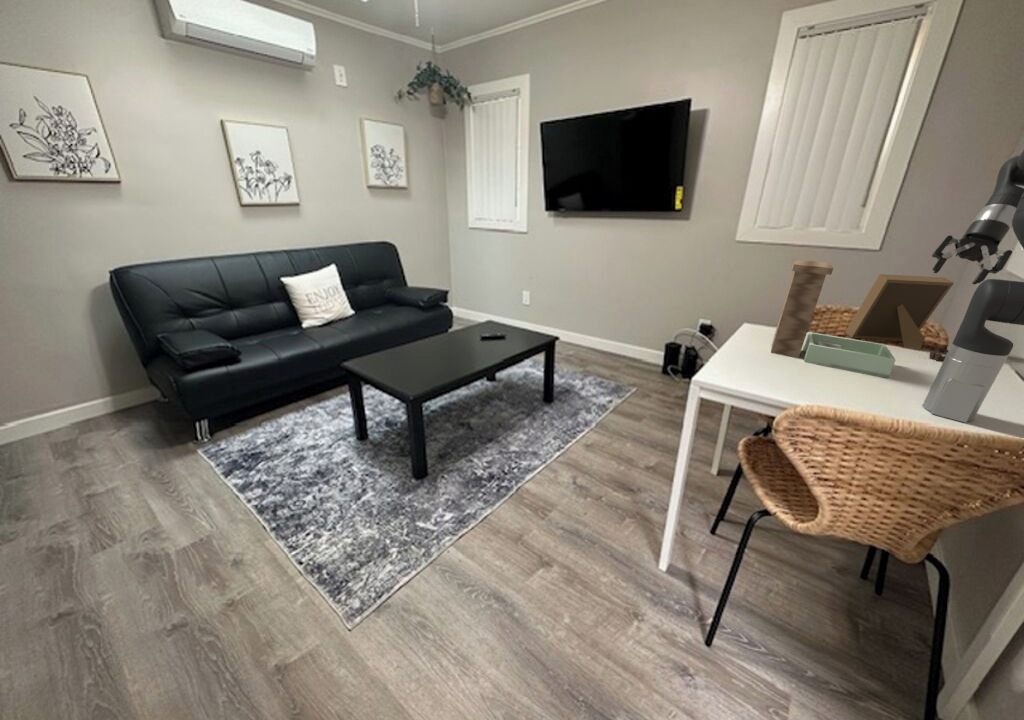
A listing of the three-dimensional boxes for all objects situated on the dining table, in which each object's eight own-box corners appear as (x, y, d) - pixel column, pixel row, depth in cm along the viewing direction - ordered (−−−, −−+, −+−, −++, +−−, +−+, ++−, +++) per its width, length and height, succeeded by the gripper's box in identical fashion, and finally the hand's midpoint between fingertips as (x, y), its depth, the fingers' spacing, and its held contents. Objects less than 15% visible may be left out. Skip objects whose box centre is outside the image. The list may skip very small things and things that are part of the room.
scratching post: (801, 348, 143) (829, 262, 131) (802, 360, 132) (833, 268, 120) (768, 342, 148) (793, 259, 136) (767, 353, 137) (793, 264, 125)
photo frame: (844, 334, 160) (868, 271, 150) (902, 337, 158) (931, 274, 148) (871, 347, 147) (899, 279, 137) (935, 352, 145) (968, 283, 135)
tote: (878, 361, 133) (885, 344, 131) (887, 378, 121) (895, 359, 118) (802, 347, 143) (808, 331, 141) (804, 361, 131) (810, 344, 129)
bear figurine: (912, 343, 144) (956, 341, 143) (908, 354, 146) (951, 352, 145) (961, 362, 128) (1011, 360, 126) (956, 374, 129) (1005, 373, 128)
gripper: (1017, 239, 111) (981, 291, 112) (951, 224, 118) (918, 273, 120) (1034, 227, 104) (995, 282, 106) (963, 211, 111) (928, 263, 113)
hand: (954, 277), depth 113 cm, fingers open, 8 cm apart
